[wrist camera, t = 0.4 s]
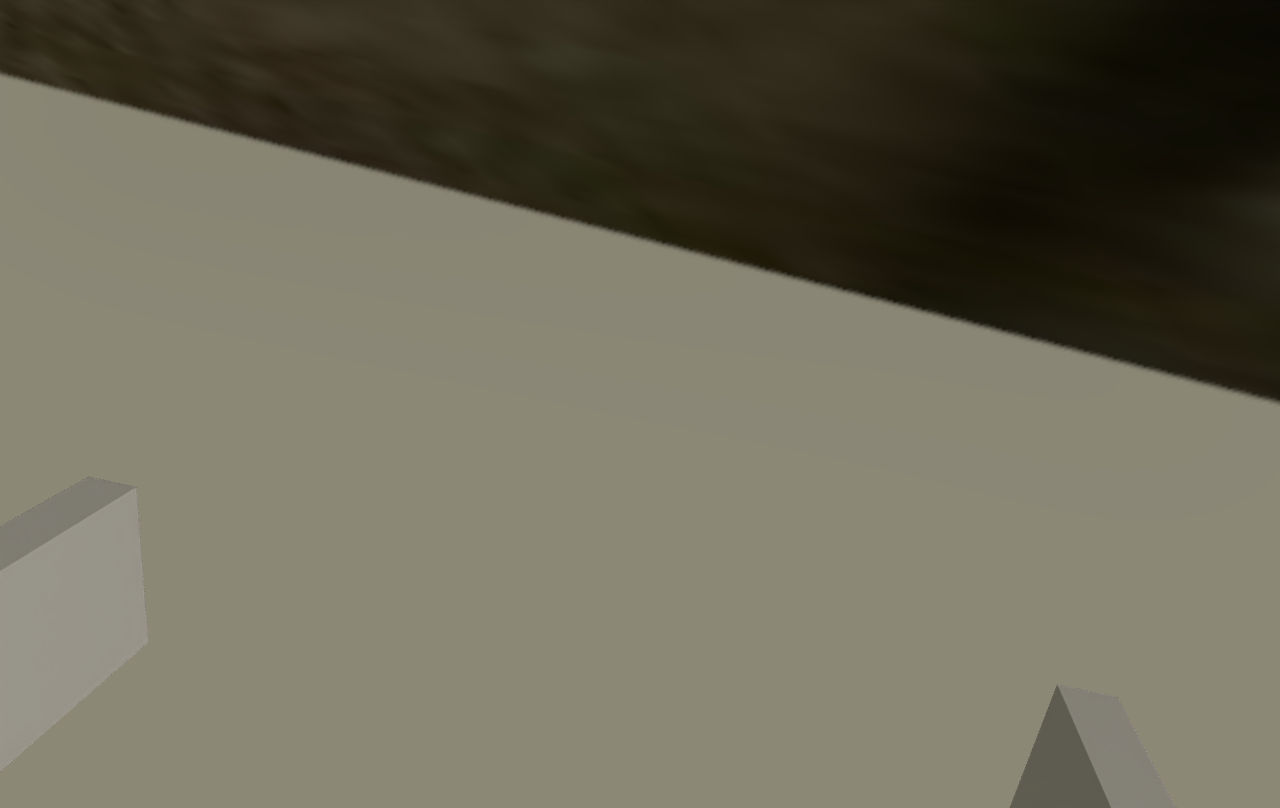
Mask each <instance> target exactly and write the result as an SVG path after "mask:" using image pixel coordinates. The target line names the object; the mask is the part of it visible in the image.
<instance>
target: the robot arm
mask: <svg viewBox="0 0 1280 808" xmlns="http://www.w3.org/2000/svg"><path fill="white" fill-rule="evenodd" d="M141 556H142V555H141V543H140V530H139V518H138V504H137V491H136V487H133V486H128V485H124V484H119V483H114V482H110V481H105V480H101V479H95V478H91V477H87V478H86V479H84V480H82V481H80V482H78V483H77V484H75V485H73V486H71V487H70V488H68V489H66V490H64V491H62V492H61V493H59V494H57V495H55V496H53V497H52V498H50V499H48V500H46V501H45V502H43V503H41V504H39V505H37V506H36V507H34V508H32V509H30V510H28V511H27V512H25V513H23V514H21V515H20V516H18V517H16V518H14V519H12V520H11V521H9V522H7V523H5V524H4V525H2V526H0V771H1V770H2V769H3V768H4V767H6V766H7V765H8V764H9V763H10V762H11V761H12V760H14V759H15V758H16V757H17V756H18V755H19V754H21V753H22V752H23V751H24V750H25V749H26V748H27V747H29V746H30V745H31V744H32V743H33V742H34V741H36V740H37V739H38V738H39V737H40V736H41V735H42V734H43V733H45V732H46V731H47V730H48V729H49V728H50V727H52V726H53V725H54V724H55V723H56V722H57V721H59V720H60V719H61V718H62V717H63V716H64V715H65V714H66V713H68V712H69V711H70V710H71V709H72V708H73V707H75V706H76V705H77V704H78V703H79V702H80V701H81V700H83V699H84V698H85V697H86V696H87V695H88V694H90V693H91V692H92V691H93V690H94V689H95V688H96V687H98V686H99V685H100V684H101V683H102V682H103V681H104V680H106V679H107V678H108V677H109V676H110V675H111V674H113V673H114V672H115V671H116V670H117V669H118V668H120V667H121V666H122V665H123V664H124V663H125V662H126V661H128V660H129V659H130V658H131V657H132V656H133V655H134V654H135V653H137V652H138V651H139V650H140V649H141V648H142V647H144V646H145V645H146V644H147V643H148V633H147V620H146V609H145V608H146V607H145V595H144V581H143V568H142V557H141ZM1010 808H1176V807H1175V806H1174V804H1173V802H1172V800H1171V798H1170V796H1169V794H1168V792H1167V791H1166V788H1165V787H1164V785H1163V783H1162V781H1161V779H1160V777H1159V775H1158V773H1157V771H1156V769H1155V767H1154V765H1153V764H1152V762H1151V760H1150V758H1149V756H1148V754H1147V752H1146V750H1145V748H1144V746H1143V745H1142V743H1141V741H1140V739H1139V737H1138V735H1137V733H1136V731H1135V729H1134V727H1133V725H1132V724H1131V722H1130V720H1129V718H1128V716H1127V714H1126V712H1125V710H1124V708H1123V706H1122V705H1121V703H1120V701H1119V699H1118V697H1114V696H1110V695H1105V694H1100V693H1096V692H1091V691H1086V690H1082V689H1077V688H1072V687H1068V686H1063V685H1057V687H1056V689H1055V692H1054V694H1053V697H1052V699H1051V702H1050V704H1049V707H1048V710H1047V712H1046V715H1045V717H1044V720H1043V723H1042V726H1041V728H1040V730H1039V733H1038V736H1037V738H1036V741H1035V743H1034V746H1033V749H1032V751H1031V754H1030V757H1029V759H1028V762H1027V764H1026V767H1025V770H1024V772H1023V775H1022V777H1021V780H1020V783H1019V785H1018V788H1017V790H1016V793H1015V796H1014V798H1013V801H1012V804H1011V806H1010Z"/></svg>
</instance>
